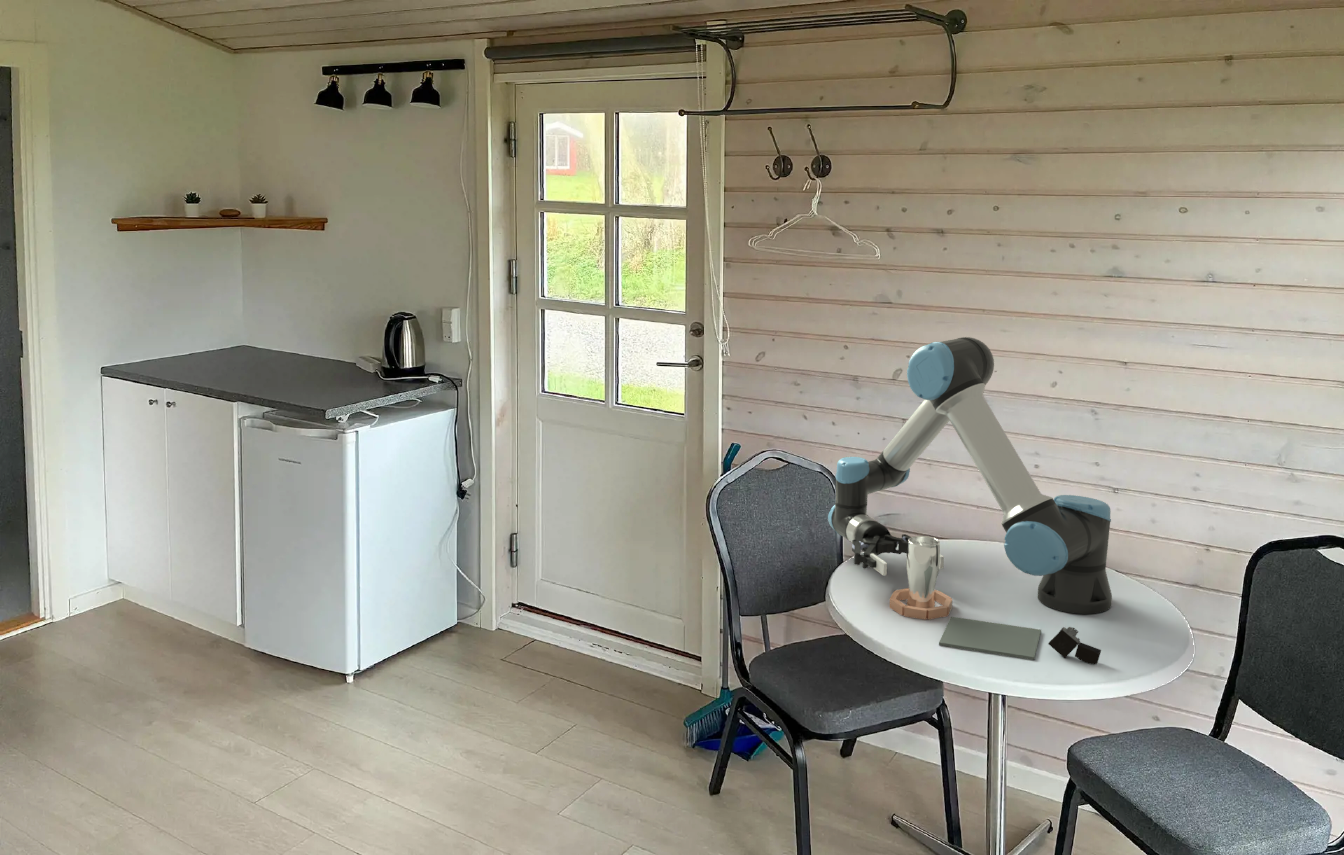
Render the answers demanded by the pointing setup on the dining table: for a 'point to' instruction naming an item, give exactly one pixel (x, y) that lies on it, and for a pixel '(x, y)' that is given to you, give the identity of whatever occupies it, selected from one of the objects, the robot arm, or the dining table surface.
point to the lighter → (1068, 641)
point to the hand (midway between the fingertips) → (914, 566)
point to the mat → (991, 638)
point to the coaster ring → (917, 611)
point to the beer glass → (922, 570)
